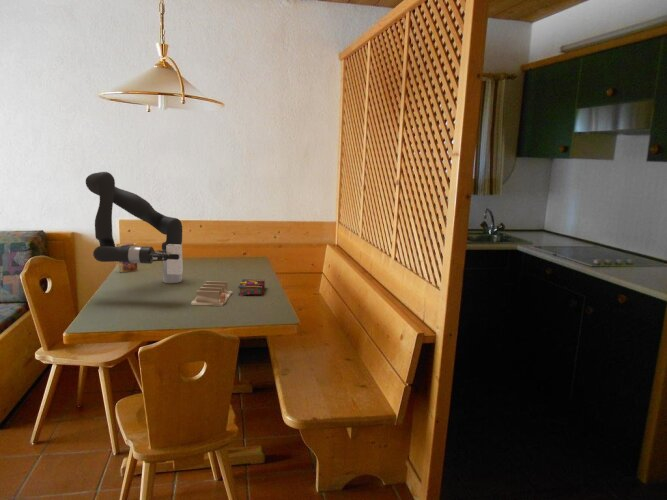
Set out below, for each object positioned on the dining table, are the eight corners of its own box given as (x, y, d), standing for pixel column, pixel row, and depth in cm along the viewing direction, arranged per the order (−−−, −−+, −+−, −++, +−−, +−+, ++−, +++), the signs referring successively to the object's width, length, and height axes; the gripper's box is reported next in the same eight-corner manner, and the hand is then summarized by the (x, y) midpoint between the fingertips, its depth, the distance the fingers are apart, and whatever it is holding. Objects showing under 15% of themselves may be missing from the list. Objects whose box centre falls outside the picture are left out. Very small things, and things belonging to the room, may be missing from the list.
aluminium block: (169, 272, 233) (168, 244, 230) (182, 273, 232) (181, 244, 230) (167, 274, 230) (166, 245, 227) (180, 274, 230) (179, 245, 227)
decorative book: (265, 288, 261) (265, 278, 260) (262, 297, 245) (262, 286, 244) (242, 287, 260) (242, 277, 259) (237, 296, 244) (237, 286, 243)
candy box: (122, 273, 282) (120, 245, 279) (118, 271, 285) (117, 244, 282) (138, 270, 288) (136, 243, 285) (134, 269, 291) (133, 242, 288)
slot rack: (203, 292, 249) (203, 280, 248) (232, 293, 248) (232, 281, 247) (191, 304, 229) (190, 291, 228) (222, 305, 229) (222, 292, 228)
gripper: (134, 249, 222) (174, 250, 222) (147, 243, 236) (184, 244, 236) (135, 266, 224) (175, 268, 223) (147, 259, 238) (185, 261, 237)
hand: (179, 256), depth 229 cm, fingers closed on aluminium block, 3 cm apart
